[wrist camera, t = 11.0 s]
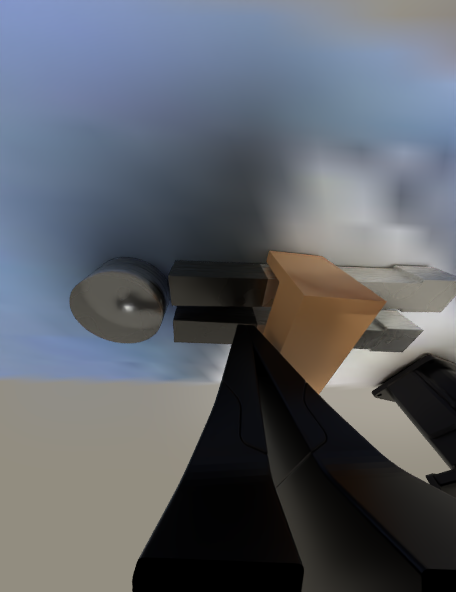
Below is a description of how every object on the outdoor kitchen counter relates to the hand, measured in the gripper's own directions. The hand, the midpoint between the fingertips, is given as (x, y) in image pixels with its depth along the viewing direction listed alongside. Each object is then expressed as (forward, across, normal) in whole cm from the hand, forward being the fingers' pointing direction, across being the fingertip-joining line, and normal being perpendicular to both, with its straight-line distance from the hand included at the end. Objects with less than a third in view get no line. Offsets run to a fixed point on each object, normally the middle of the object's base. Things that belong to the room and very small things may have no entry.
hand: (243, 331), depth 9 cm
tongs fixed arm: (+3, -2, 0) cm, 3 cm away
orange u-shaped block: (+3, -3, 0) cm, 4 cm away
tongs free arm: (+3, -4, -2) cm, 5 cm away
